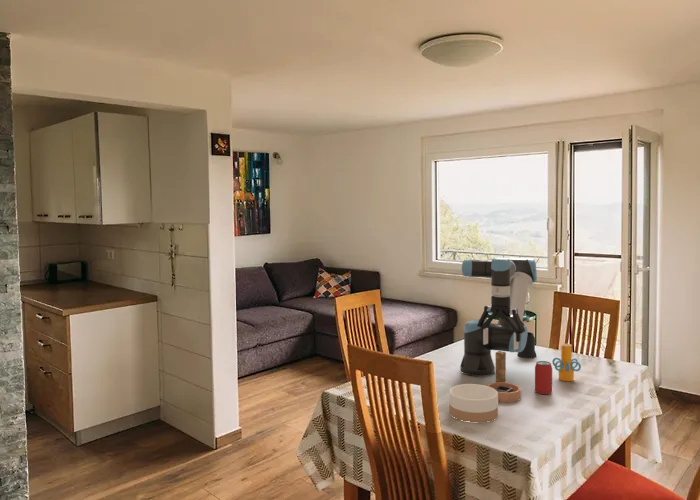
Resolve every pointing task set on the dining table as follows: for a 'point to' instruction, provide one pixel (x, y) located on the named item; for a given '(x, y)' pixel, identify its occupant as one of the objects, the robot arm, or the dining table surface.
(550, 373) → the beer can
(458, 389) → the bowl
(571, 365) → the cylinder
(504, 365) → the tall wooden post
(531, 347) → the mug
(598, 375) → the dining table surface
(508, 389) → the clip
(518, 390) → the shallow terracotta dish
